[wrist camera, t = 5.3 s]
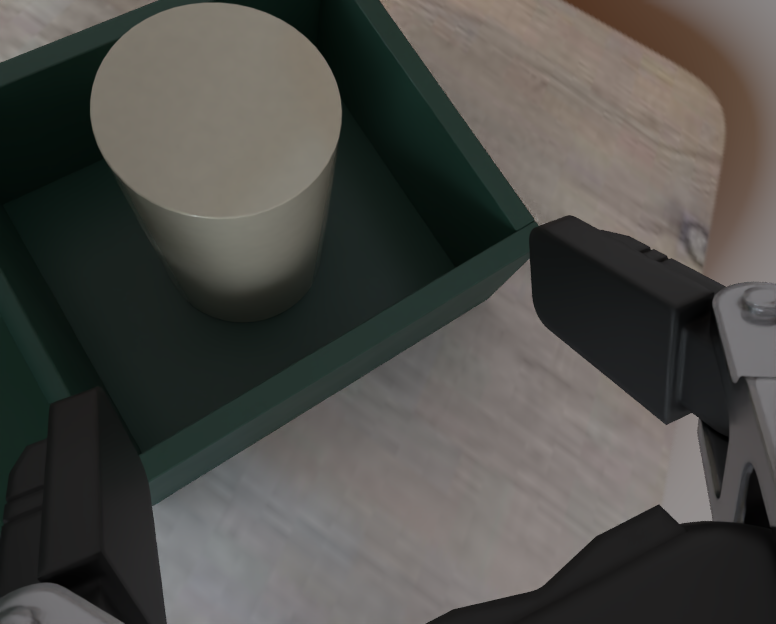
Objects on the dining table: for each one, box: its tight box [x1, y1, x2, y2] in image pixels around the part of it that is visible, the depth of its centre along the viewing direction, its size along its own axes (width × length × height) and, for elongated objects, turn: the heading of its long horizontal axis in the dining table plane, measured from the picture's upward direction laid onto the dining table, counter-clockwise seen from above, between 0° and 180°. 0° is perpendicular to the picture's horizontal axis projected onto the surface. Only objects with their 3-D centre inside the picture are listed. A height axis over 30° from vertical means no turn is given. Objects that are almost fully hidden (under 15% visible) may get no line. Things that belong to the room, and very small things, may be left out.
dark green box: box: [0, 0, 539, 506], centre depth 23 cm, size 16×14×7 cm
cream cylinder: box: [90, 2, 342, 322], centre depth 21 cm, size 6×6×10 cm
